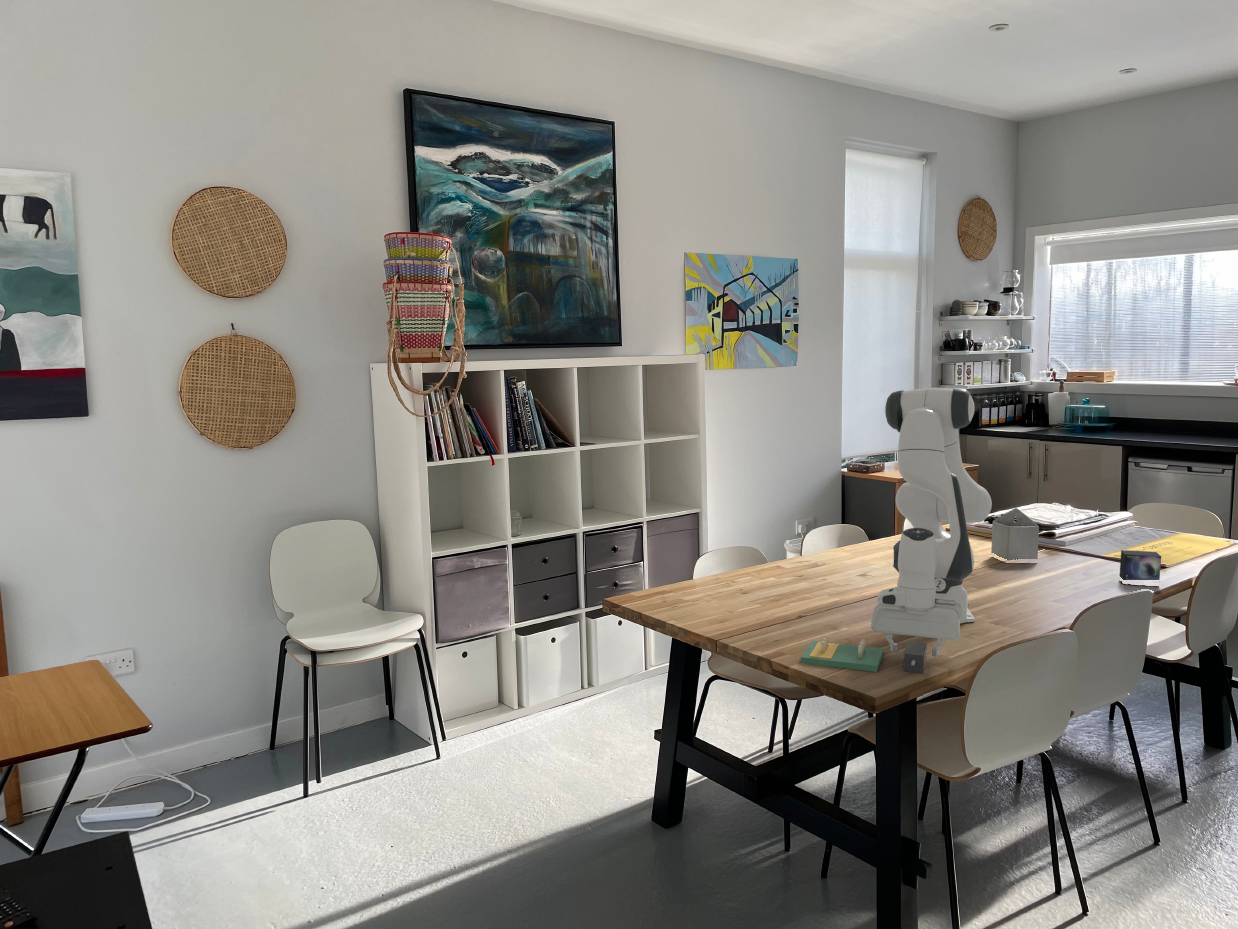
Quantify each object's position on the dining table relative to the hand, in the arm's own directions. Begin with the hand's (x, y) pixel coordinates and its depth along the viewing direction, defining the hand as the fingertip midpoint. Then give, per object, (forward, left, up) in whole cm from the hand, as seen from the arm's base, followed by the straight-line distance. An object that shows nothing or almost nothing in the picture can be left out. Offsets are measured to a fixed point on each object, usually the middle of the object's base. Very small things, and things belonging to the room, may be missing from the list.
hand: (914, 653), depth 215 cm
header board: (+1, -17, -3) cm, 17 cm away
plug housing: (+1, 0, -3) cm, 3 cm away
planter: (-129, +23, -3) cm, 131 cm away
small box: (-108, +61, -3) cm, 125 cm away
